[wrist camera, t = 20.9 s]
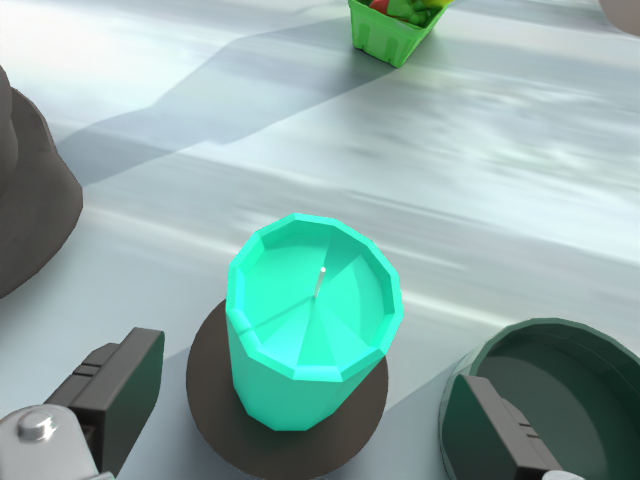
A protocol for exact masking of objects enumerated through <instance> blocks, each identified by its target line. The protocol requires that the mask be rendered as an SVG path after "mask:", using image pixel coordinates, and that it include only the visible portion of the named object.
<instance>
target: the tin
mask: <svg viewBox="0 0 640 480" xmlns="http://www.w3.org/2000/svg"><path fill="white" fill-rule="evenodd" d="M459 374H462V375H469V376H476V377H483V378H487V379H488V380H489V381H490V383H491V384H492V386H493V387H494V389H495V390H496V391H497V393H498V394H499V396H500V397H501V398H503V399H506V400H507V401H508V402H510V403H511V404H512V405H513V406H515V407H516V408H517V409H518V410H520V411H521V413H522V414H523V415H524V417H525V418H526V419H527V421H528V422H529V423H530V427H532V428H533V429H534V430H535V432H536V433H537V434H538V436H539V439H541V440H542V441H543V443H544V444H545V445H546V447H547V448H548V449H549V451H550V452H551V454H552V455H553V456H554V458H555V459H556V460H557V462H558V463H559V465H560V466H561V467H562V469H563V470H564V471H565V472H569V473H572V474H575V475H577V476H580V477H582V478H584V479H586V480H640V358H639V357H637V355H635V354H634V353H632V352H631V351H630V350H628V349H627V348H626V347H624V346H623V345H622V344H620V343H619V342H618V341H616V340H615V339H613V338H612V337H610V336H608V335H606V334H604V333H602V332H600V331H598V330H596V329H594V328H591V327H589V326H587V325H585V324H582V323H578V322H573V321H569V320H565V319H560V318H531V319H527V320H524V321H521V322H518V323H515V324H512V325H509V326H507V327H505V328H504V329H502V330H501V331H499V332H498V333H497V334H495V335H494V336H492V337H491V338H489V339H488V340H487V341H485V342H484V343H482V344H481V345H480V346H478V347H477V348H476V349H474V350H473V351H472V352H470V353H469V354H468V355H466V356H465V357H464V358H463V359H462V361H461V362H460V363H459V364H458V365H457V367H456V368H455V369H454V371H453V373H452V374H451V376H450V378H449V380H448V382H447V385H446V387H445V390H444V392H443V396H442V401H441V405H440V413H439V438H440V445H441V452H442V456H443V460H444V464H445V468H446V470H447V473H448V476H449V479H450V480H457V478H456V476H455V474H454V471H453V469H452V466H451V464H450V462H449V459H448V457H447V454H446V452H445V449H444V447H443V443H442V424H443V420H444V416H445V413H446V409H447V405H448V402H449V398H450V394H451V390H452V387H453V383H454V380H455V378H456V376H457V375H459Z"/></svg>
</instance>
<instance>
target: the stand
mask: <svg viewBox="0 0 640 480" xmlns="http://www.w3.org/2000/svg"><path fill="white" fill-rule="evenodd" d="M225 309H226V299H225V300H223V301H222V302H221V303H220V304H219V305H218V306H217V307H216V308H215V309H214V310H213V311H212V312H211V313H210V314H209V316H208V317H207V318H206V320H205V321H204V322H203V324H202V325H201V327H200V329H199V331H198V332H197V334H196V337H195V339H194V341H193V344H192V346H191V350H190V354H189V357H188V363H187V370H186V389H187V397H188V402H189V406H190V409H191V413H192V416H193V418H194V420H195V423H196V425H197V427H198V429H199V431H200V432H201V434H202V436H203V437H204V439H205V440H206V442H207V443H208V444H209V445H210V446H211V448H212V449H213V450H214V451H215V452H216V453H217V454H218V455H219V456H220V457H221V458H222V459H223V460H225V461H226V462H227V463H229V464H230V465H232V466H233V467H235V468H236V469H238V470H240V471H242V472H244V473H246V474H248V475H250V476H253V477H256V478H260V479H263V480H310V479H314V478H317V477H320V476H323V475H325V474H327V473H329V472H332V471H334V470H336V469H338V468H339V467H341V466H342V465H344V464H345V463H347V462H348V461H349V460H350V459H352V458H353V457H354V456H355V455H356V454H357V453H358V452H359V451H360V450H361V449H362V448H363V447H364V445H365V444H366V443H367V442H368V441H369V439H370V438H371V436H372V434H373V433H374V431H375V430H376V428H377V426H378V423H379V421H380V419H381V417H382V414H383V411H384V407H385V404H386V398H387V393H388V367H387V361H386V356H384V357H383V358H382V359H381V360H380V361H379V363H378V364H377V365H376V366H375V367H374V368H373V369H372V370H371V371H370V373H369V374H368V375H367V376H366V377H365V378H364V379H363V380H362V382H361V383H360V384H359V385H358V386H357V387H356V388H355V389H354V390H353V392H352V393H351V394H350V395H349V396H348V397H347V398H346V399H345V400H344V402H343V403H342V404H341V405H340V406H339V407H338V408H337V409H336V410H335V412H334V413H333V414H331V415H330V416H328V417H327V418H325V419H324V420H322V421H320V422H319V423H317V424H316V425H314V426H313V427H311V428H309V429H308V430H306V431H274V430H273V429H271V428H269V427H268V426H266V425H264V424H263V423H261V422H260V421H258V420H256V419H255V418H253V417H251V416H250V415H248V414H247V412H246V410H245V408H244V406H243V404H242V402H241V400H240V398H239V396H238V394H237V392H236V390H235V388H234V385H233V376H232V366H231V357H230V348H229V339H228V330H227V320H226V311H225Z"/></svg>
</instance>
